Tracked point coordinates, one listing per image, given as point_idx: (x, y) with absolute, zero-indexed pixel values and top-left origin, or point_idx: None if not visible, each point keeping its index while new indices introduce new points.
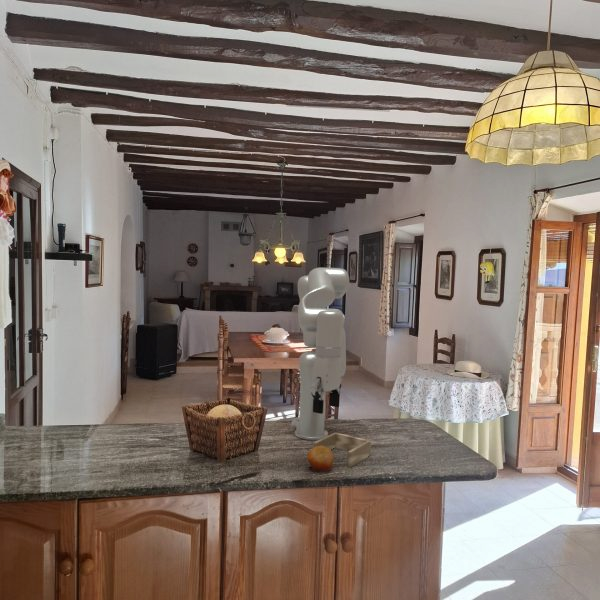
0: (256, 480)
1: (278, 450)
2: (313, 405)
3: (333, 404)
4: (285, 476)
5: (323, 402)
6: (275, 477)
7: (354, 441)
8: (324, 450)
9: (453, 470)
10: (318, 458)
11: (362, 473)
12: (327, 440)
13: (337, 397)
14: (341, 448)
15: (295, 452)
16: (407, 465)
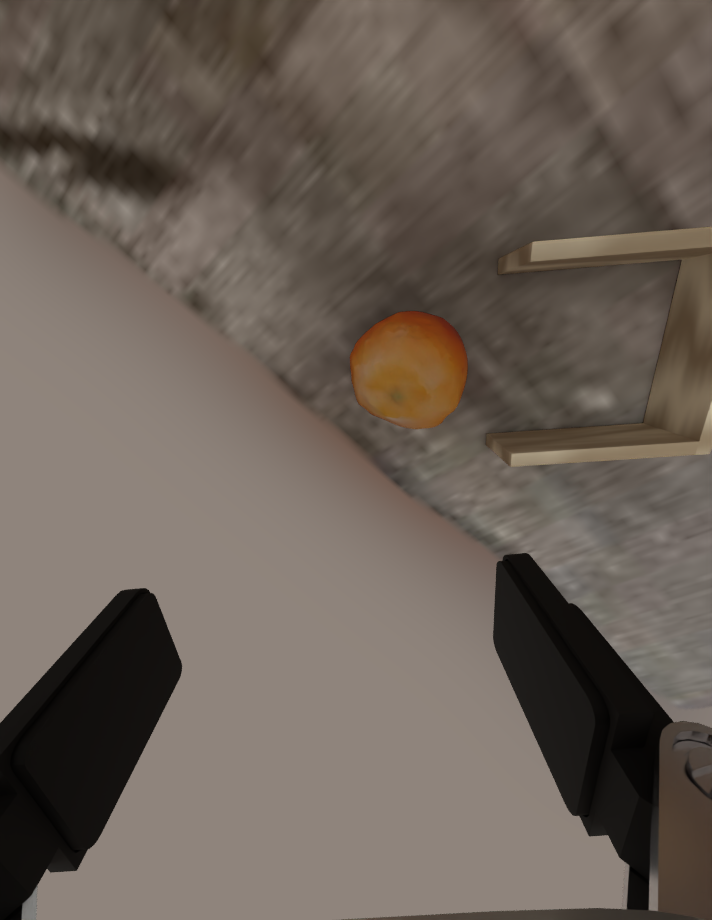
0: (128, 244)
1: (479, 12)
2: (70, 656)
3: (503, 619)
4: (248, 310)
5: (100, 818)
6: (210, 285)
7: (702, 371)
8: (413, 401)
9: (643, 657)
10: (364, 397)
11: (465, 498)
12: (644, 254)
13: (548, 762)
14: (675, 296)
15: (508, 131)
16: (617, 563)
